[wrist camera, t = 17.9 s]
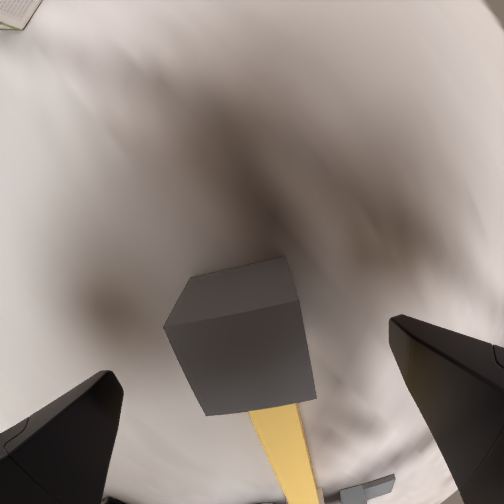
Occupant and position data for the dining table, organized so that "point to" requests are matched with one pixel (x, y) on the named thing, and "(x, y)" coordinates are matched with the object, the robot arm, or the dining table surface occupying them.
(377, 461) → the dining table surface
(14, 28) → the syrup box
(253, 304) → the yellow handled hammer
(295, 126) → the dining table surface
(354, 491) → the blue-grey bracket
